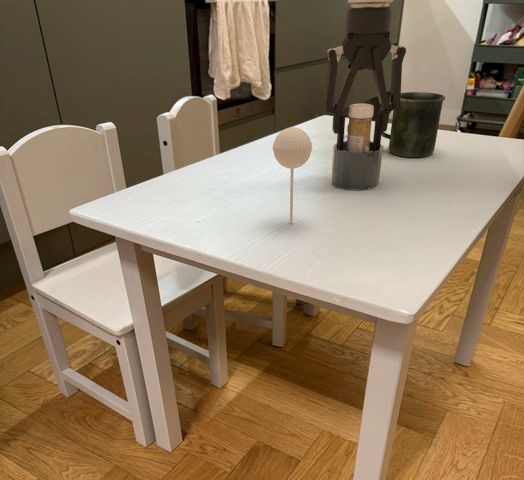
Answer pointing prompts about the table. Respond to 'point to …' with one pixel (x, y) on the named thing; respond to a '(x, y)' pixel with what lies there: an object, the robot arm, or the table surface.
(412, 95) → the mug
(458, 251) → the table surface
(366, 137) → the sprinkles bottle
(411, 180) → the table surface
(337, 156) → the tin
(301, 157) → the lollipop
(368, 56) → the robot arm
